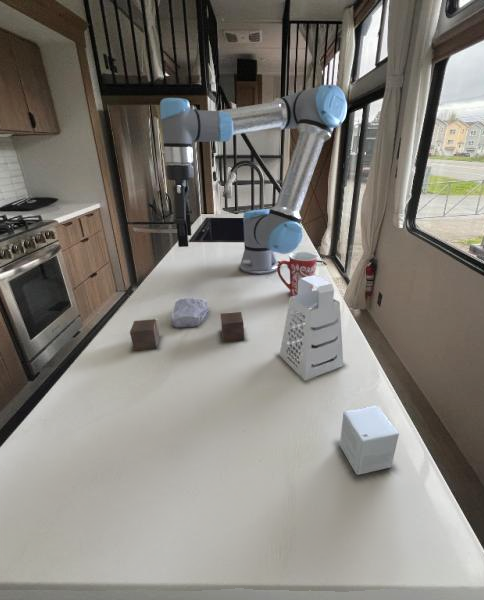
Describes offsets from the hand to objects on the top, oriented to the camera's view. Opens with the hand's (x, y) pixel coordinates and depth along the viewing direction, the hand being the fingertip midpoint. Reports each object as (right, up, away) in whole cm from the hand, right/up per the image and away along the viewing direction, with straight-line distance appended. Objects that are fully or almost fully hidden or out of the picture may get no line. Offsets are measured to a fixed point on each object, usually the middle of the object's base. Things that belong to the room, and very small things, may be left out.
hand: (185, 240), depth 98 cm
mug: (+35, -16, +10) cm, 40 cm away
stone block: (+3, -23, -3) cm, 24 cm away
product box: (+39, -43, -46) cm, 74 cm away
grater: (+34, -32, -23) cm, 52 cm away
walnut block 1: (-7, -29, -15) cm, 34 cm away
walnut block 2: (+15, -27, -12) cm, 34 cm away
